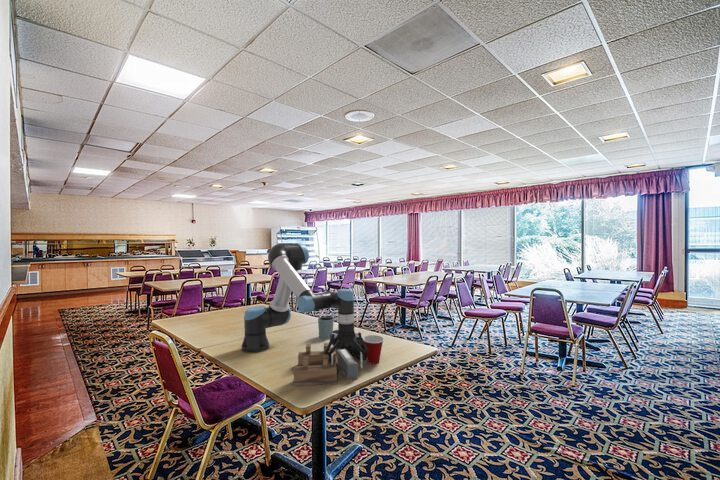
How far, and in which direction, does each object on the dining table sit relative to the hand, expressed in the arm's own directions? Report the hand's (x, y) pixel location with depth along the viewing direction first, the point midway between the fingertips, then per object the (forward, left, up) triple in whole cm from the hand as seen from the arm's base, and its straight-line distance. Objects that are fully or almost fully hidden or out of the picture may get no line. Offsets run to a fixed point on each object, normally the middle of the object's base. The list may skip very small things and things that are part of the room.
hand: (347, 368), depth 162 cm
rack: (-14, -1, -1) cm, 14 cm away
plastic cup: (+14, +10, -1) cm, 17 cm away
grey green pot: (-10, +58, -1) cm, 59 cm away
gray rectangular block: (0, 0, -2) cm, 2 cm away
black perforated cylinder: (+3, +26, -2) cm, 26 cm away
